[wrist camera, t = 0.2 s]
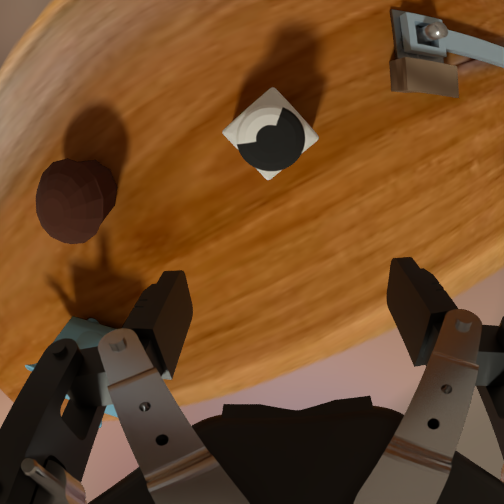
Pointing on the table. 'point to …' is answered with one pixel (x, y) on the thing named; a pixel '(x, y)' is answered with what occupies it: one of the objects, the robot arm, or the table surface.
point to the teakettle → (84, 341)
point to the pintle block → (423, 36)
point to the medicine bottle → (270, 134)
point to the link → (447, 42)
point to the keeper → (423, 77)
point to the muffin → (74, 199)
